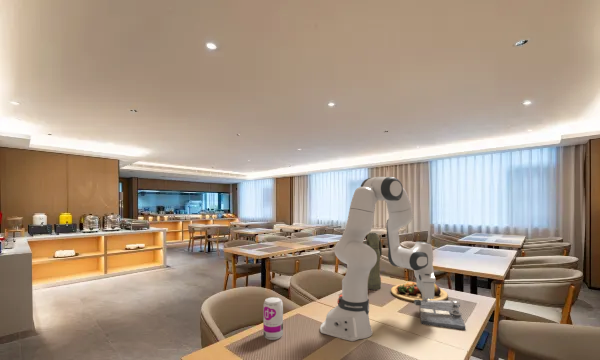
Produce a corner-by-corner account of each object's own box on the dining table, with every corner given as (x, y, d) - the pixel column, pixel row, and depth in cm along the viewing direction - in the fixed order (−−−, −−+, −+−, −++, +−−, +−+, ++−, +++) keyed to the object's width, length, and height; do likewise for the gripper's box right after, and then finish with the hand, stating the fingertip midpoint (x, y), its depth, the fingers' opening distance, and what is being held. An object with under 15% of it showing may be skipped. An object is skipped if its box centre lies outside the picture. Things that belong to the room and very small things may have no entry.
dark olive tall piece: (385, 288, 187) (384, 233, 189) (370, 290, 183) (369, 234, 185) (377, 284, 195) (376, 232, 198) (362, 286, 191) (361, 232, 193)
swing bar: (458, 304, 144) (457, 300, 144) (461, 307, 140) (461, 303, 140) (414, 302, 146) (413, 298, 147) (416, 305, 142) (416, 301, 143)
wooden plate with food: (405, 283, 198) (404, 271, 199) (456, 294, 175) (455, 280, 176) (380, 296, 176) (380, 282, 176) (435, 310, 153) (434, 293, 153)
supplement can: (275, 342, 119) (275, 304, 119) (259, 337, 123) (259, 300, 124) (286, 334, 125) (286, 298, 126) (271, 329, 130) (271, 295, 131)
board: (421, 324, 135) (420, 312, 135) (419, 304, 159) (419, 294, 159) (466, 330, 128) (466, 317, 128) (458, 309, 152) (457, 298, 153)
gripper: (413, 268, 158) (413, 295, 157) (422, 279, 138) (423, 309, 137) (425, 269, 157) (426, 295, 156) (436, 279, 137) (437, 310, 136)
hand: (424, 302), depth 146 cm, fingers closed
